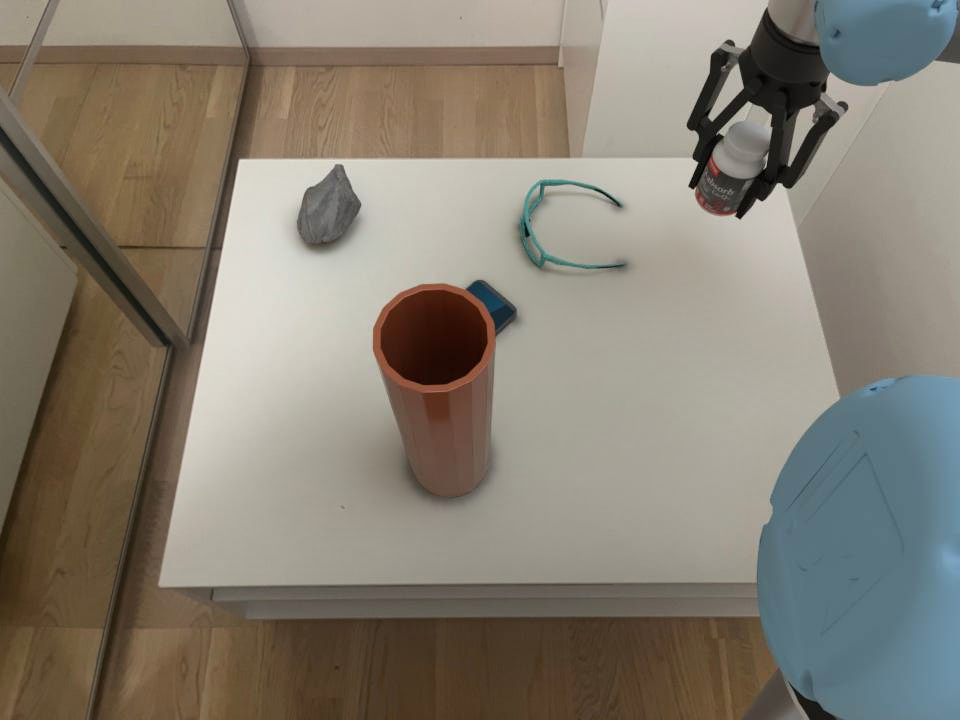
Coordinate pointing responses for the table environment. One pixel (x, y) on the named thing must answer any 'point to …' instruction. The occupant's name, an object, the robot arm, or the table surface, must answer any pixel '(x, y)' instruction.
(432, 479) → the tall brown vase
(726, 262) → the table surface
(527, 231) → the sunglasses
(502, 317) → the smartphone
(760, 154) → the pill bottle
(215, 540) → the table surface
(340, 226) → the grey rock
